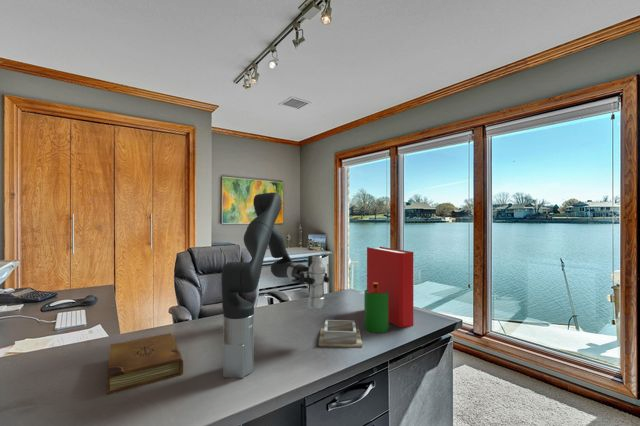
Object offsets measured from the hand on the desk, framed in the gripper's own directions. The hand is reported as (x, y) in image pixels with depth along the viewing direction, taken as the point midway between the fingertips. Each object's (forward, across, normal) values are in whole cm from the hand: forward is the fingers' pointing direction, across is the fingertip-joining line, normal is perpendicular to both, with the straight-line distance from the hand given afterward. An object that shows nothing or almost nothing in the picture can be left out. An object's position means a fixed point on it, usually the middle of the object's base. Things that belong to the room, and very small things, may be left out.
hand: (320, 280), depth 112 cm
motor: (-1, +29, +24) cm, 38 cm away
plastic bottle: (-2, 0, +11) cm, 11 cm away
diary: (-15, -56, +25) cm, 63 cm away
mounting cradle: (-1, +10, +24) cm, 26 cm away
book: (-9, +45, +24) cm, 52 cm away
